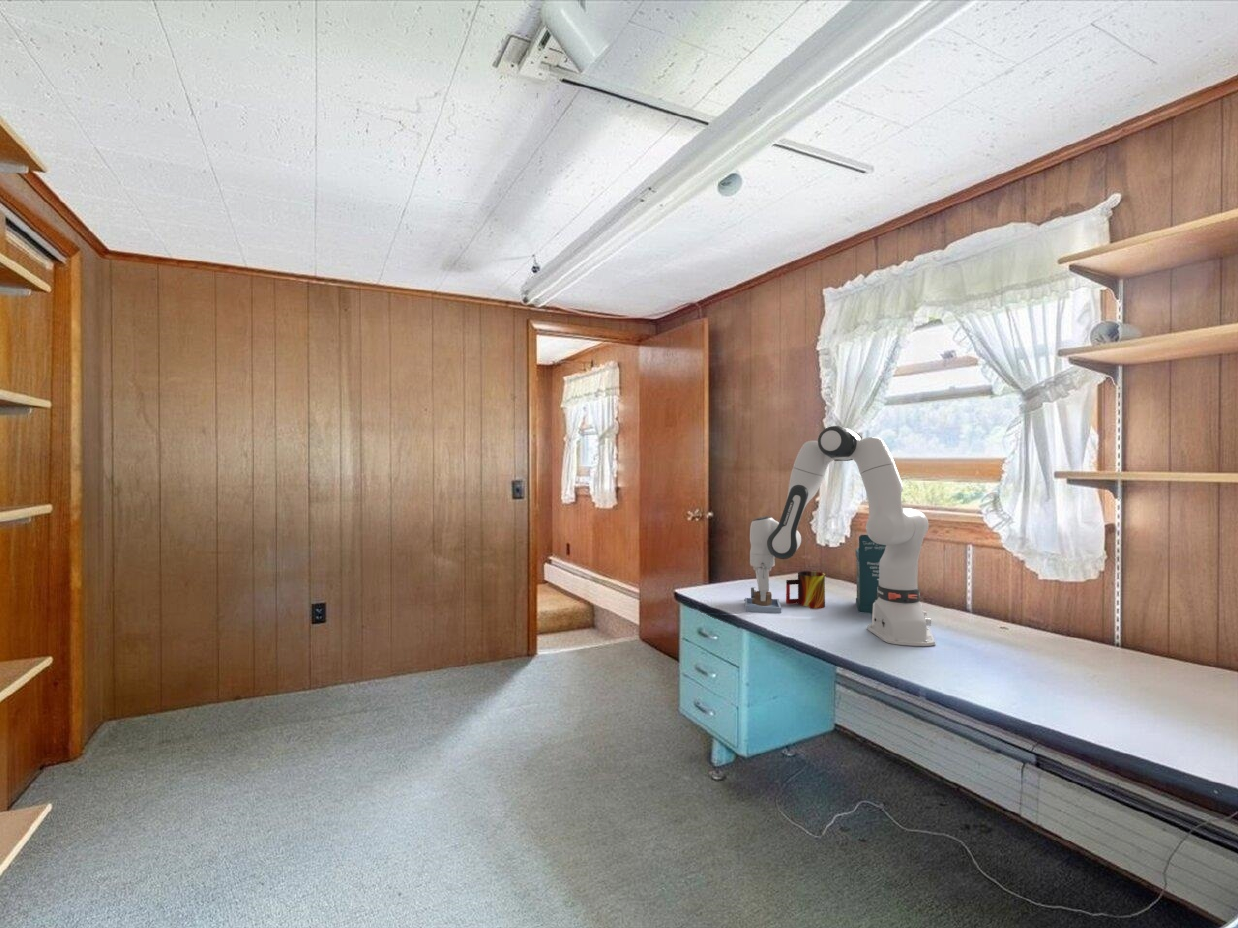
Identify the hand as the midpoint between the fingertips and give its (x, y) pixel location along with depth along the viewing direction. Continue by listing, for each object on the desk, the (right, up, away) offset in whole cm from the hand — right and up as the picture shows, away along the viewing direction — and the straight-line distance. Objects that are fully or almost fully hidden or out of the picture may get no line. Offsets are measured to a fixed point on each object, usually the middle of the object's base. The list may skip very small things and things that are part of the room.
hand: (762, 598), depth 213 cm
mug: (+18, -4, +4) cm, 19 cm away
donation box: (+43, -4, 0) cm, 43 cm away
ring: (0, -2, 0) cm, 2 cm away
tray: (0, -4, 0) cm, 4 cm away
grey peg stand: (-1, -4, +11) cm, 12 cm away
